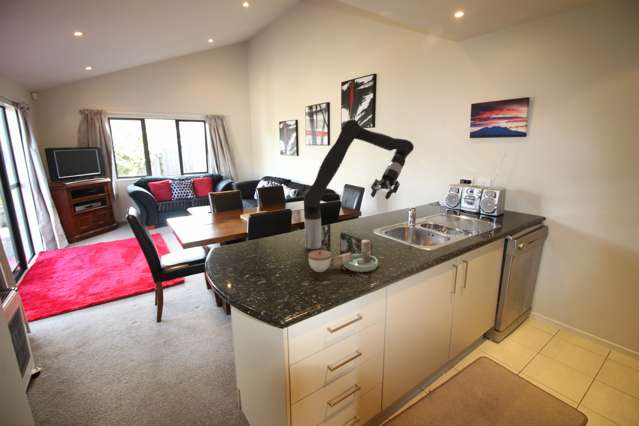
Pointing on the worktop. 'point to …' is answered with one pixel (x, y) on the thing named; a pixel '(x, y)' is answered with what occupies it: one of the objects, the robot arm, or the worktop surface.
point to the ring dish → (361, 263)
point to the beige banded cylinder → (342, 259)
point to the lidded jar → (319, 260)
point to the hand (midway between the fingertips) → (379, 197)
